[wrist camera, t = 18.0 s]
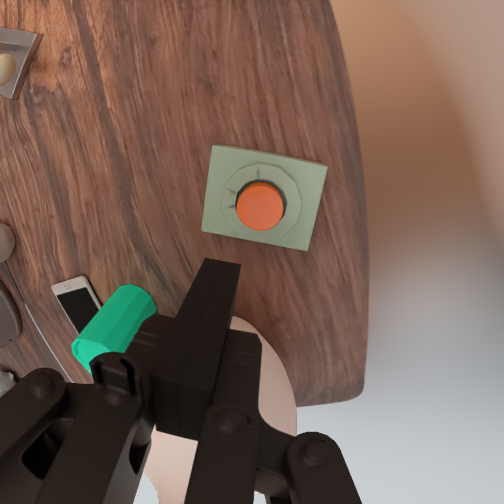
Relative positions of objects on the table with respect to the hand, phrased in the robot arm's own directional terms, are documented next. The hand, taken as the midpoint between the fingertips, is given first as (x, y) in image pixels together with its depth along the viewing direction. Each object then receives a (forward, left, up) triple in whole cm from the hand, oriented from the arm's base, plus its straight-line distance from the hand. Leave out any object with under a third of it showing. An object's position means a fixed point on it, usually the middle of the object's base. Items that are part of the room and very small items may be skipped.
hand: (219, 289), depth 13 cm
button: (+1, +1, -13) cm, 13 cm away
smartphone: (-19, -21, -17) cm, 33 cm away
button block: (+1, +1, -17) cm, 17 cm away
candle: (-12, -15, -17) cm, 26 cm away
